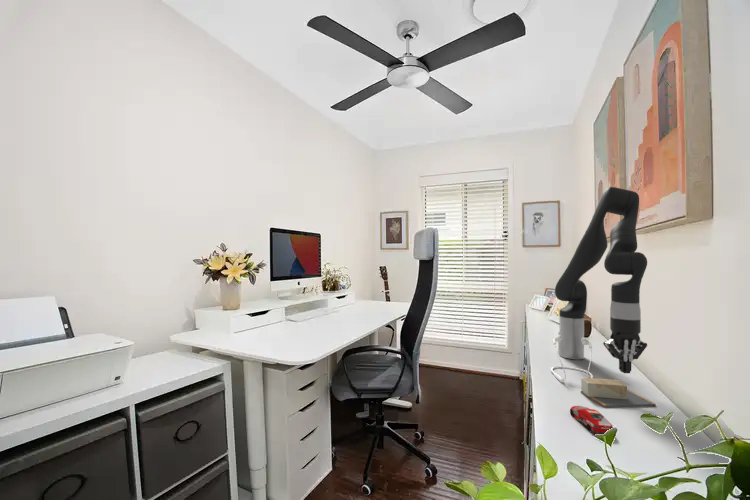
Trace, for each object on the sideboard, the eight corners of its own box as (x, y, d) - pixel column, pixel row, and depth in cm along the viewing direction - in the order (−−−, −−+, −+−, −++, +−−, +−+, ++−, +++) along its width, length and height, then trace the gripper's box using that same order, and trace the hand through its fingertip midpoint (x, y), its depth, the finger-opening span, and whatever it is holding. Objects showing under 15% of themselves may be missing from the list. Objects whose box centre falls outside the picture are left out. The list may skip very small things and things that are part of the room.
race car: (566, 412, 95) (566, 398, 95) (586, 413, 95) (586, 399, 95) (594, 438, 82) (594, 422, 82) (617, 439, 82) (617, 422, 82)
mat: (580, 392, 108) (580, 390, 108) (628, 391, 109) (628, 389, 109) (603, 407, 98) (603, 405, 98) (655, 406, 99) (655, 403, 99)
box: (628, 386, 101) (588, 383, 103) (627, 400, 101) (588, 397, 103) (618, 379, 106) (580, 376, 108) (618, 392, 106) (580, 390, 108)
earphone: (553, 374, 114) (551, 331, 126) (551, 398, 123) (549, 356, 136) (600, 380, 108) (593, 335, 120) (594, 406, 118) (588, 361, 130)
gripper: (635, 314, 107) (635, 367, 107) (595, 314, 107) (595, 368, 106) (656, 318, 100) (656, 376, 100) (614, 319, 99) (614, 377, 99)
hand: (625, 372), depth 103 cm, fingers closed
